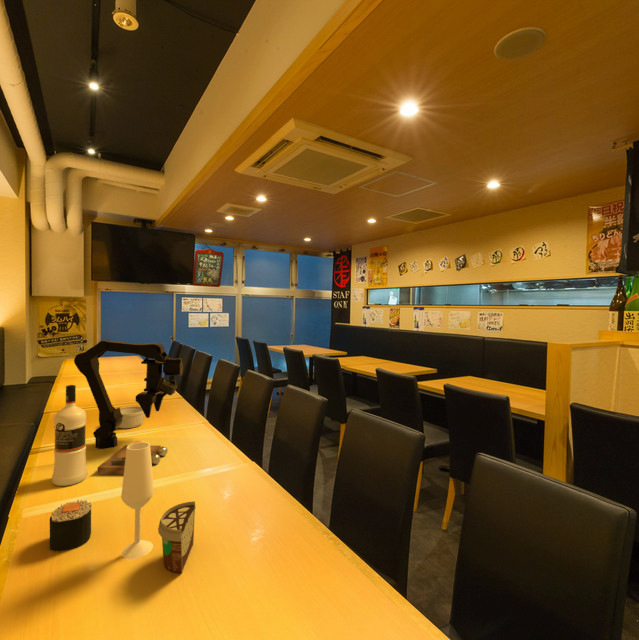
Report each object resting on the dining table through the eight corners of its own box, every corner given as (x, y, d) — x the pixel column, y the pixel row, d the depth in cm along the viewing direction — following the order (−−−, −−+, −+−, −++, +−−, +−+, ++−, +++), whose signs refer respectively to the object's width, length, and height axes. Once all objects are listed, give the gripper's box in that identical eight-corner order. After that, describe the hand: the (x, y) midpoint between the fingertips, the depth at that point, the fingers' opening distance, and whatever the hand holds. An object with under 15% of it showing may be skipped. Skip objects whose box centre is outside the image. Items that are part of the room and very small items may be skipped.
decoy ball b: (148, 466, 127) (148, 456, 127) (152, 461, 131) (152, 452, 131) (158, 466, 128) (158, 456, 128) (161, 462, 131) (162, 452, 131)
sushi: (45, 555, 82) (45, 519, 81) (55, 533, 89) (55, 501, 89) (88, 546, 85) (88, 512, 85) (94, 526, 93) (94, 495, 92)
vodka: (94, 476, 119) (95, 383, 118) (67, 489, 110) (67, 389, 109) (72, 471, 122) (73, 381, 121) (44, 484, 113) (44, 386, 112)
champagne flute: (130, 539, 88) (131, 439, 87) (158, 541, 88) (160, 441, 87) (114, 559, 81) (115, 451, 80) (144, 560, 81) (145, 452, 80)
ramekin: (116, 431, 160) (116, 415, 160) (109, 423, 170) (109, 408, 170) (148, 425, 169) (148, 410, 169) (140, 418, 179) (140, 404, 179)
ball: (130, 451, 133) (131, 442, 133) (135, 448, 136) (135, 439, 136) (140, 451, 133) (140, 442, 133) (144, 448, 137) (144, 439, 136)
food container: (168, 542, 87) (168, 500, 87) (195, 541, 88) (195, 500, 88) (148, 580, 75) (149, 532, 75) (179, 579, 76) (180, 531, 75)
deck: (97, 474, 120) (97, 462, 120) (125, 451, 139) (125, 441, 139) (138, 475, 121) (138, 462, 121) (160, 452, 140) (160, 441, 139)
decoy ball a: (156, 457, 134) (156, 448, 134) (159, 454, 138) (159, 445, 138) (165, 457, 135) (165, 448, 134) (168, 454, 138) (169, 445, 138)
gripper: (166, 380, 137) (164, 422, 137) (182, 371, 155) (181, 408, 156) (135, 379, 136) (134, 421, 137) (155, 370, 155) (154, 407, 155)
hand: (152, 414), depth 146 cm, fingers open, 9 cm apart
